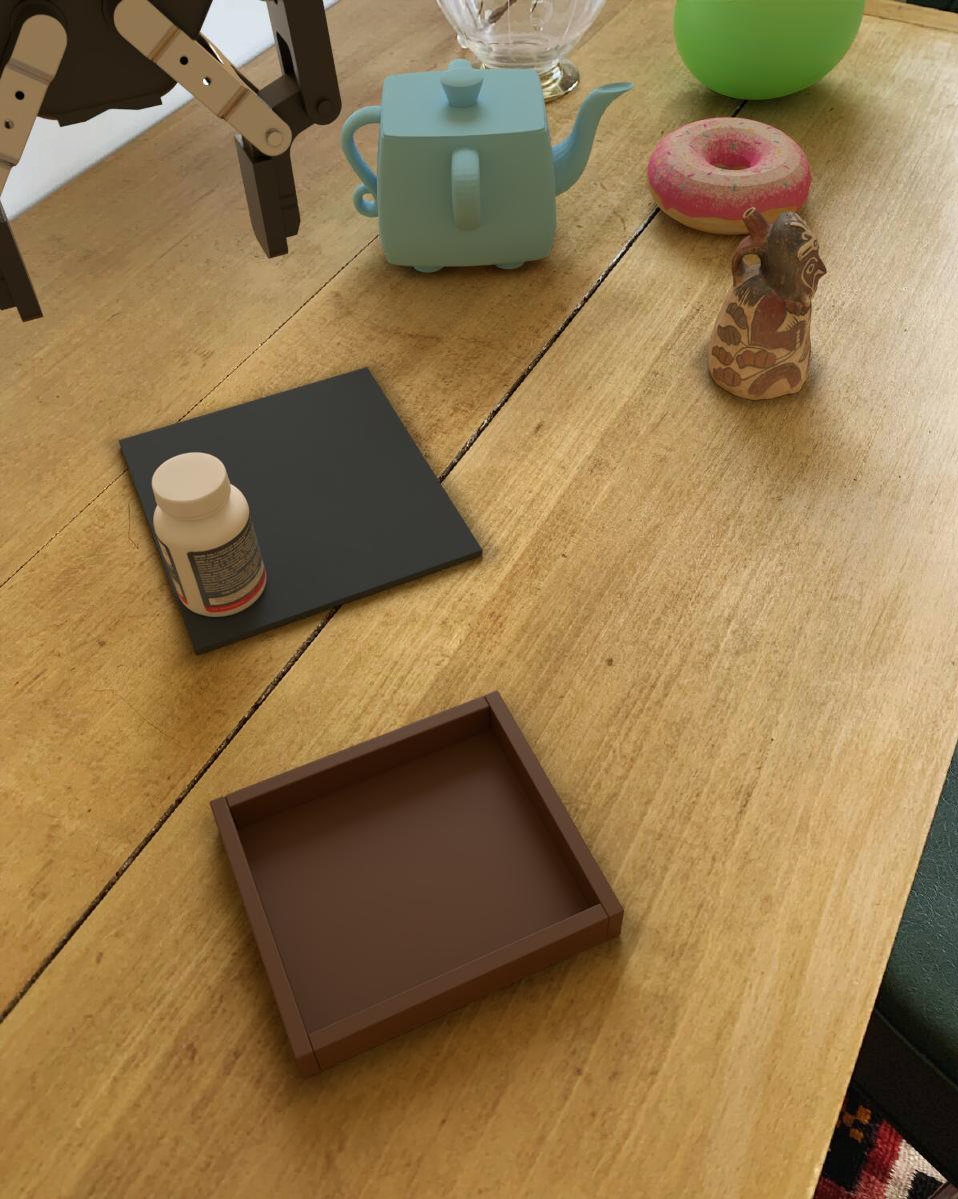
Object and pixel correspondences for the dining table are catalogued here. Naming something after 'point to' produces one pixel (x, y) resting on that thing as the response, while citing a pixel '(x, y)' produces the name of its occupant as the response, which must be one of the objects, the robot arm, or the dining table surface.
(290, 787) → the tray
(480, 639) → the dining table surface
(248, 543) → the pill bottle
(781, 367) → the figurine
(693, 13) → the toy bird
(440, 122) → the teapot
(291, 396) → the mat
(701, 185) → the donut
